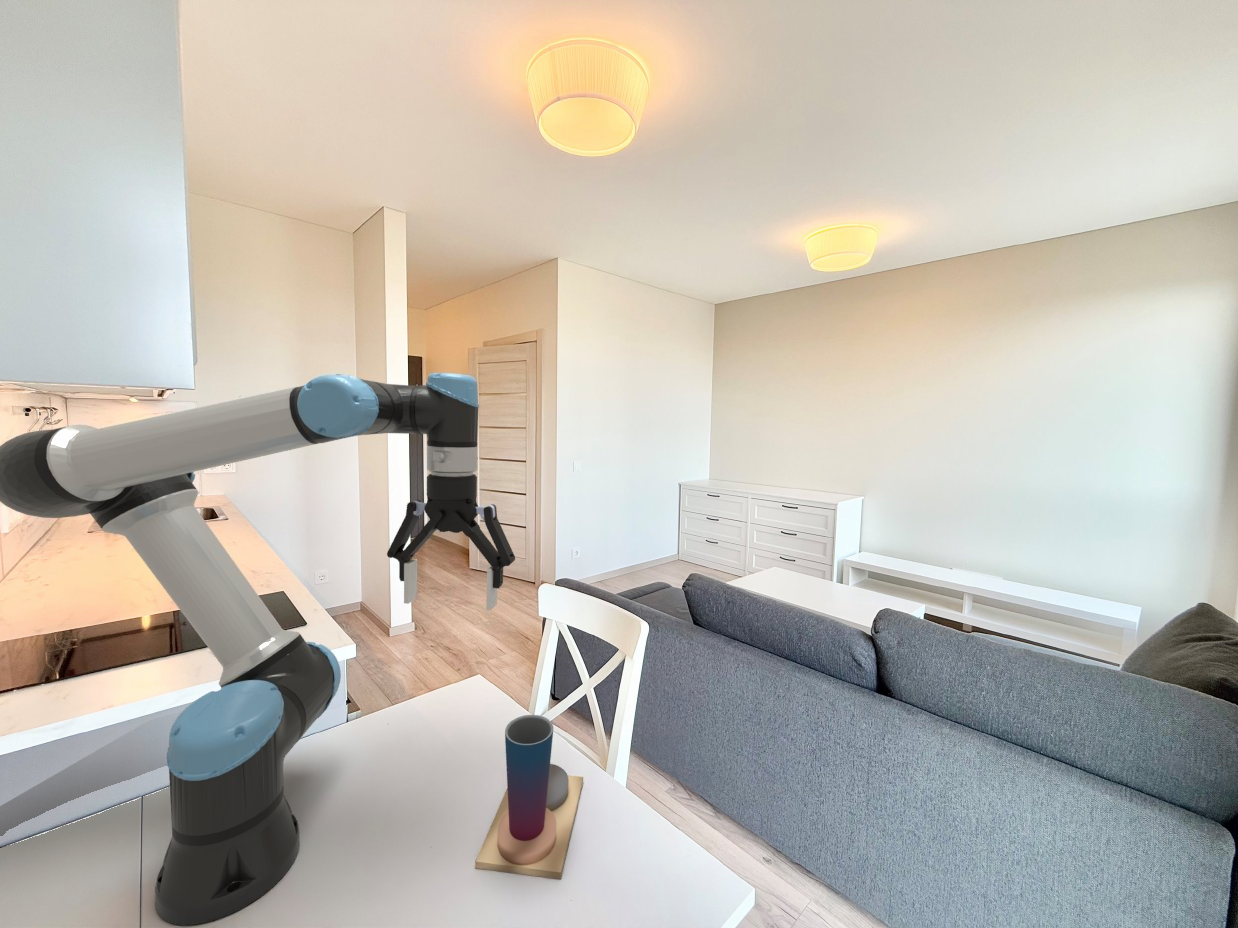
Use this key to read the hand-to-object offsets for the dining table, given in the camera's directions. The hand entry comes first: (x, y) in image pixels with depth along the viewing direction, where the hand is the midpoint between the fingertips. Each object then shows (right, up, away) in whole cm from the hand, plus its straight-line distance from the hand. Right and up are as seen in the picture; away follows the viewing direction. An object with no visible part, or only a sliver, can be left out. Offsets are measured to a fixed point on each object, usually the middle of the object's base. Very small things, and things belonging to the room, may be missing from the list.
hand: (450, 603), depth 79 cm
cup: (+14, -30, -8) cm, 34 cm away
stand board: (+14, -33, -3) cm, 36 cm away
